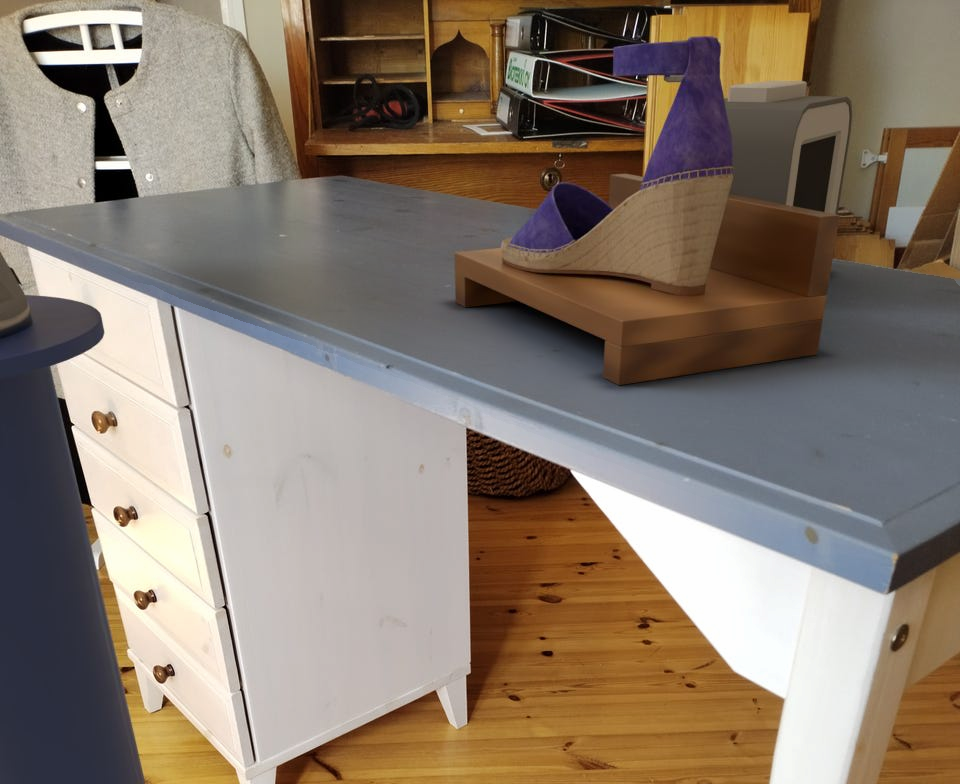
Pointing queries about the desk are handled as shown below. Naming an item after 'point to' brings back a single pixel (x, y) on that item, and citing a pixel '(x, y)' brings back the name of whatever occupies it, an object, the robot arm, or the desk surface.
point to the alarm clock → (788, 144)
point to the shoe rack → (686, 319)
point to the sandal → (648, 187)
